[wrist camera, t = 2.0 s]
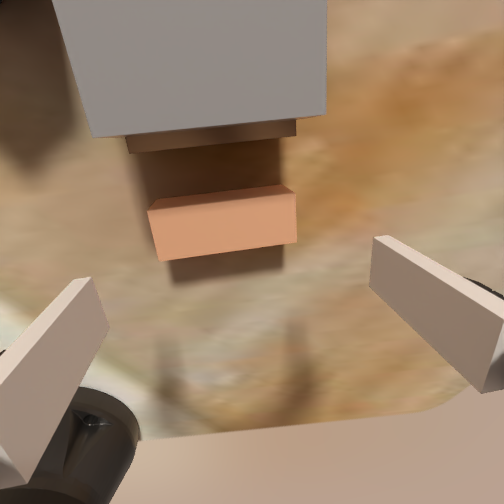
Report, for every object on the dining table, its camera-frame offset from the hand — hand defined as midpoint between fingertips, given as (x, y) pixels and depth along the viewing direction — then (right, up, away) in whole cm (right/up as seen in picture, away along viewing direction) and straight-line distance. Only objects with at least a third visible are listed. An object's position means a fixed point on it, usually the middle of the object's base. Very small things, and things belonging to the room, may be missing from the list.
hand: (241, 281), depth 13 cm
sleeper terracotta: (-2, +5, +12) cm, 13 cm away
